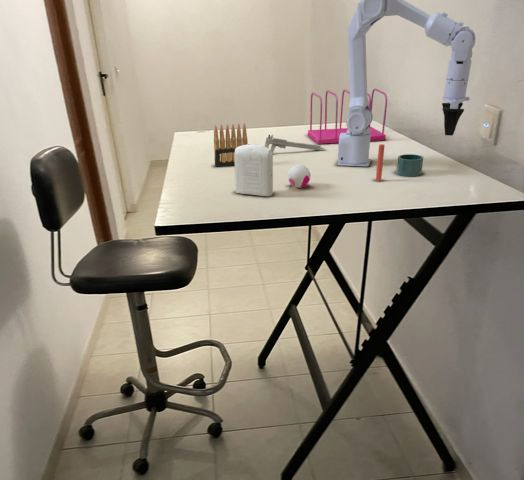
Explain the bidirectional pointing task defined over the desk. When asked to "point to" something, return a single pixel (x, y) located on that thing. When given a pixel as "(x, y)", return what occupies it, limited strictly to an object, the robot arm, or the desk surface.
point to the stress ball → (299, 176)
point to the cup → (409, 165)
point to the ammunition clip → (228, 145)
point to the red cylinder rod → (380, 162)
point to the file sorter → (333, 134)
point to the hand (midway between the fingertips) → (448, 132)
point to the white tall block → (254, 170)
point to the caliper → (288, 144)
